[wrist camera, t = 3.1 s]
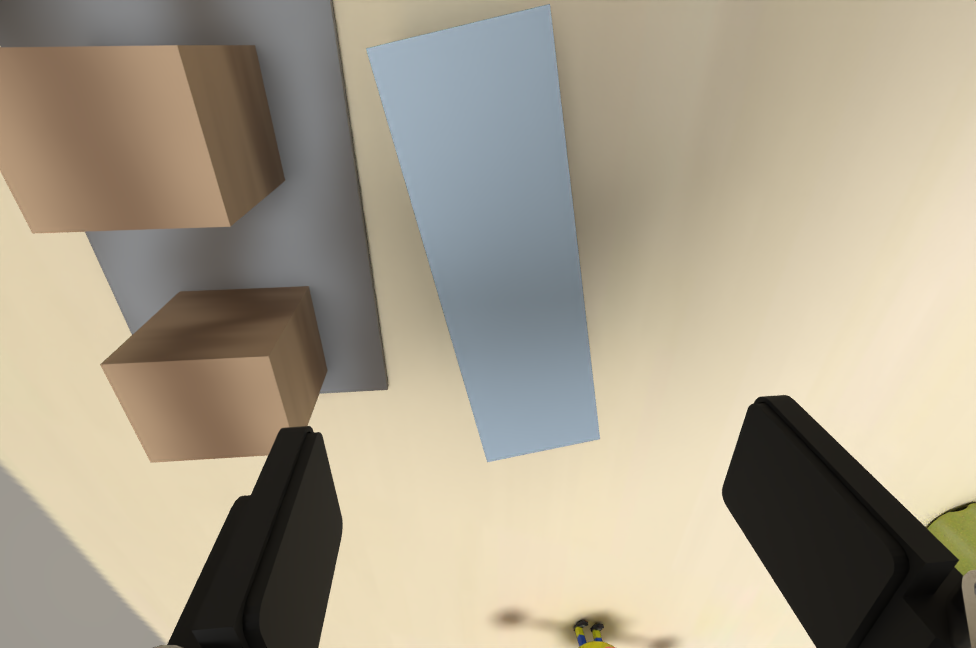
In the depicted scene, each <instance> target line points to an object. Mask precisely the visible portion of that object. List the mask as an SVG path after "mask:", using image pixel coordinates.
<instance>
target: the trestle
mask: <svg viewBox="0 0 976 648" xmlns="http://www.w3.org/2000/svg"><path fill="white" fill-rule="evenodd" d="M0 171H1V173H2V175H3V177H4V179H5V181H6V183H7V185H8V187H9V189H10V191H11V192H12V194H13V196H14V198H15V200H16V202H17V204H18V206H19V208H20V210H21V212H22V214H23V216H24V218H25V220H26V222H27V223H28V225H29V227H30V229H31V231H32V233H58V232H85V233H86V235H87V237H88V239H89V242H90V244H91V246H92V248H93V250H94V252H95V255H96V257H97V259H98V261H99V263H100V266H101V268H102V270H103V272H104V274H105V277H106V279H107V281H108V283H109V285H110V287H111V290H112V292H113V294H114V296H115V298H116V301H117V303H118V305H119V307H120V309H121V312H122V314H123V316H124V318H125V320H126V322H127V325H128V327H129V329H130V331H131V333H132V336H131V337H130V338H129V339H128V340H126V341H125V342H124V343H123V344H122V345H121V346H120V347H119V348H118V349H117V350H116V351H115V352H113V353H112V354H111V355H110V356H109V357H108V358H107V359H106V360H105V361H104V362H103V363H102V364H100V365H101V367H102V369H103V371H104V373H105V375H106V377H107V379H108V380H109V382H110V384H111V386H112V388H113V390H114V392H115V394H116V396H117V398H118V400H119V402H120V404H121V406H122V408H123V410H124V411H125V413H126V415H127V417H128V419H129V421H130V423H131V425H132V427H133V429H134V431H135V433H136V435H137V437H138V439H139V441H140V442H141V444H142V446H143V448H144V450H145V452H146V454H147V456H148V458H149V460H150V462H167V461H184V460H200V459H216V458H233V457H249V456H265V455H269V453H270V450H271V448H272V446H273V443H274V441H275V439H276V437H277V434H278V432H279V431H280V429H281V428H286V427H301V426H307V425H308V423H309V420H310V417H311V415H312V412H313V409H314V406H315V404H316V401H317V398H318V395H319V393H338V392H356V391H374V390H388V379H387V373H386V366H385V359H384V352H383V345H382V338H381V332H380V325H379V318H378V311H377V304H376V297H375V291H374V284H373V277H372V270H371V263H370V256H369V249H368V243H367V236H366V229H365V222H364V215H363V208H362V202H361V195H360V188H359V181H358V174H357V167H356V161H355V154H354V147H353V140H352V133H351V126H350V120H349V113H348V106H347V99H346V92H345V85H344V78H343V72H342V65H341V58H340V51H339V44H338V37H337V31H336V24H335V17H334V10H333V3H332V0H0Z"/></svg>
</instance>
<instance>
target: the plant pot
mask: <svg viewBox="0 0 976 648" xmlns="http://www.w3.org/2000/svg"><path fill="white" fill-rule="evenodd" d="M927 529H928V530H929V531H930V532H931V533H932V534H933V535H934V536H935V537H936V538H937V539H938V540H939V541H940V542H941V543H942V544H943V545H944V546H945V547H946V548H947V549H948V550H950V551H951V552H952V553H953V554H954V555H955V556H956V557H957V558H958V559H959V561H958V563H957V564H956V565H955V568H956V569H957V570H958V571H959V572H960V573H961V574H962V575H963V576H964V575H965V574H966V573H967V572H968V571H971V570H976V503H973V504H970V505H968V507H967V508H966V509H964V510H961V511H957V512H948V513H946V514H943V515H942V516H940V517H938V518H937V519H936V520H935V521H934V522H933V523H932V524H931V525H930V526H929V527H928V528H927Z"/></svg>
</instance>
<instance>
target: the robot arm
mask: <svg viewBox="0 0 976 648" xmlns="http://www.w3.org/2000/svg"><path fill="white" fill-rule="evenodd" d="M722 496H723V500H724V502H725V504H726V506H727V508H728V509H729V511H730V512H731V514H732V516H733V517H734V519H735V520H736V522H737V523H738V525H739V527H740V528H741V530H742V531H743V533H744V534H745V536H746V538H747V539H748V541H749V542H750V544H751V545H752V547H753V549H754V550H755V552H756V553H757V555H758V556H759V558H760V560H761V561H762V563H763V564H764V566H765V567H766V569H767V571H768V572H769V574H770V575H771V577H772V578H773V580H774V582H775V583H776V585H777V586H778V588H779V589H780V591H781V593H782V594H783V596H784V597H785V599H786V600H787V602H788V604H789V605H790V607H791V608H792V610H793V611H794V613H795V615H796V616H797V618H798V619H799V621H800V622H801V624H802V626H803V627H804V629H805V630H806V632H807V633H808V635H809V637H810V638H811V640H812V641H813V643H814V644H815V646H816V648H976V570H971V571H968V572H967V573H966V574H965V575H964V576H963V575H962V574H961V573H960V572H959V571H958V570H957V569H956V568H955V565H956V564H957V563H958V561H959V559H958V558H957V557H956V556H955V555H954V554H953V553H952V552H951V551H950V550H948V549H947V548H946V547H945V546H944V545H943V544H942V543H941V542H940V541H939V540H938V539H937V538H936V537H935V536H934V535H933V534H932V533H931V532H930V531H929V530H928V529H927V528H926V527H925V526H924V525H923V524H922V523H921V522H920V521H919V520H918V519H916V518H915V517H914V516H913V515H912V514H911V513H910V512H909V511H908V510H907V509H906V508H905V507H904V506H903V505H902V504H901V503H900V502H899V501H898V500H897V499H896V498H895V497H894V496H893V495H892V494H891V493H890V492H889V491H888V490H887V489H885V488H884V487H883V486H882V485H881V484H880V483H879V482H878V481H877V480H876V479H875V478H874V477H873V476H872V475H871V474H870V473H869V472H868V471H867V470H866V469H865V468H864V467H863V466H862V465H861V464H860V463H859V462H858V461H857V460H856V459H855V458H853V457H852V456H851V455H850V454H849V453H848V452H847V451H846V450H845V449H844V448H843V447H842V446H841V445H840V444H839V443H838V442H837V441H836V440H835V439H834V438H833V437H832V436H831V435H830V434H829V433H828V432H827V431H826V430H825V429H824V428H823V427H821V426H820V425H819V424H818V423H817V422H816V421H815V420H814V419H813V418H812V417H811V416H810V415H809V414H808V413H807V412H806V411H805V410H804V409H803V408H802V407H801V406H800V405H799V404H798V403H797V402H796V401H795V400H794V399H792V398H791V397H790V396H786V395H779V396H764V397H758V398H757V399H756V400H755V402H754V404H751V405H750V406H749V408H748V410H747V413H746V416H745V419H744V422H743V425H742V428H741V432H740V435H739V438H738V441H737V444H736V447H735V450H734V453H733V456H732V459H731V463H730V466H729V469H728V472H727V475H726V478H725V481H724V484H723V488H722ZM342 528H343V523H342V515H341V511H340V507H339V503H338V499H337V495H336V490H335V486H334V482H333V478H332V474H331V470H330V465H329V461H328V457H327V453H326V449H325V445H324V440H323V437H322V434H321V433H320V432H317V433H314V432H313V429H312V428H311V426H301V427H286V428H281V429H280V431H279V432H278V434H277V437H276V439H275V441H274V443H273V446H272V448H271V450H270V453H269V455H268V457H267V459H266V462H265V464H264V466H263V469H262V471H261V473H260V475H259V478H258V480H257V482H256V485H255V487H254V489H253V491H252V494H251V495H248V496H240V497H239V498H238V499H237V500H236V501H235V503H234V504H233V506H232V508H231V510H230V512H229V514H228V516H227V518H226V520H225V523H224V525H223V527H222V529H221V531H220V533H219V535H218V538H217V540H216V542H215V544H214V546H213V548H212V550H211V552H210V555H209V557H208V559H207V561H206V563H205V565H204V567H203V570H202V572H201V574H200V576H199V578H198V580H197V582H196V584H195V587H194V589H193V591H192V593H191V595H190V597H189V599H188V602H187V604H186V606H185V608H184V610H183V612H182V614H181V616H180V619H179V621H178V623H177V625H176V627H175V629H174V631H173V634H172V636H171V638H170V640H169V642H168V644H167V645H160V646H157V647H154V648H318V646H319V642H320V637H321V632H322V627H323V622H324V618H325V613H326V608H327V603H328V599H329V594H330V589H331V584H332V580H333V575H334V570H335V565H336V561H337V556H338V551H339V546H340V542H341V537H342Z"/></svg>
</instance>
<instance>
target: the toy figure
mask: <svg viewBox="0 0 976 648" xmlns="http://www.w3.org/2000/svg"><path fill="white" fill-rule="evenodd" d="M587 625H588V622H586V621H581V622H579V623H577V624H576V625H575V626H574V631H575V632H576V636H577V639H578V643H579V646H580V647H579V648H615V647H614V646H612V645H610V644H608V643H605V642H602V638H601V633H600V631H601V630H602V629H603V628H604V626H603V624H597V623H596V624H595V625H594V626H593V627H592V628H590V629H591V632H592V633H593V638H594V641H592V642H588V643H586V639H585V636H584V632H583V629H582V628H583V627H585V626H587Z"/></svg>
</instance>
